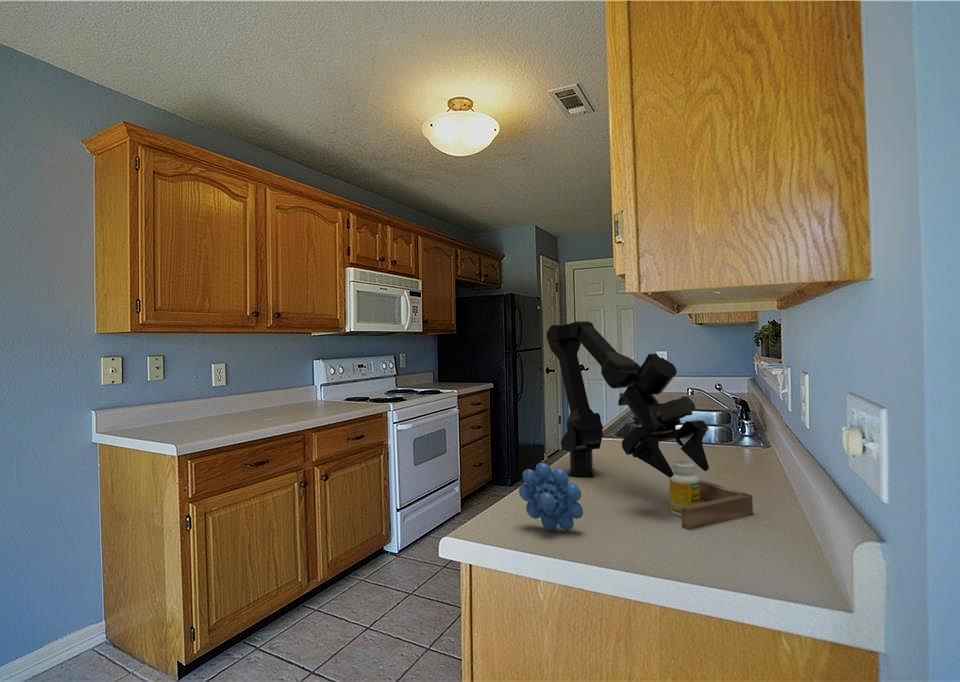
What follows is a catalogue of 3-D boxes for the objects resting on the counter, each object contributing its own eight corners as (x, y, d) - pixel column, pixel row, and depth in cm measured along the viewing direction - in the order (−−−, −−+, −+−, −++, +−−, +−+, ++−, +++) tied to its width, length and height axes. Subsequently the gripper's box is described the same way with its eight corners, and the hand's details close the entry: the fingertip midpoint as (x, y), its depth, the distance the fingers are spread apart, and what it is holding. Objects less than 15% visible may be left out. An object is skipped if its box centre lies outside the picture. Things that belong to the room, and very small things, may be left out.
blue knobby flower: (513, 535, 86) (511, 466, 86) (523, 521, 92) (521, 458, 93) (579, 543, 82) (578, 471, 82) (585, 528, 88) (584, 461, 88)
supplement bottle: (675, 506, 99) (674, 458, 99) (703, 512, 95) (702, 462, 95) (666, 514, 94) (664, 464, 95) (695, 520, 91) (693, 468, 91)
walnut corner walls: (625, 503, 101) (624, 486, 101) (684, 491, 108) (684, 475, 108) (689, 529, 86) (688, 509, 86) (753, 513, 93) (752, 495, 93)
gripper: (629, 386, 95) (676, 454, 84) (699, 381, 102) (749, 443, 92) (604, 421, 102) (644, 488, 92) (671, 414, 109) (715, 475, 99)
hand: (689, 473), depth 94 cm, fingers open, 9 cm apart
